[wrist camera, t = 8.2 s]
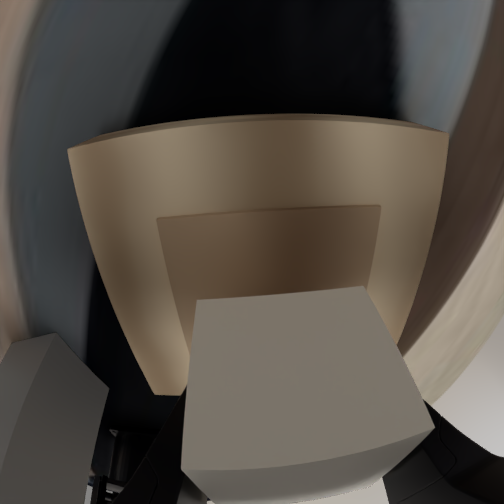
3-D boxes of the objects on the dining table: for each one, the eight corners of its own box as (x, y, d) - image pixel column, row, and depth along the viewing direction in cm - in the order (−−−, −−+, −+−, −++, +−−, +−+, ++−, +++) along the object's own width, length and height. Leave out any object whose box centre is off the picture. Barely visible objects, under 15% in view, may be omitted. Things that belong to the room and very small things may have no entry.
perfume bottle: (56, 332, 17) (-14, 562, 1) (109, 388, 20) (77, 587, 5) (11, 342, 17) (-53, 519, 2) (59, 391, 21) (21, 554, 5)
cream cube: (218, 392, 11) (219, 507, 7) (196, 299, 8) (180, 468, 4) (339, 380, 11) (369, 486, 7) (363, 285, 9) (435, 427, 4)
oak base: (161, 357, 18) (154, 397, 15) (100, 135, 11) (64, 150, 8) (369, 339, 18) (385, 375, 16) (410, 121, 11) (452, 134, 9)
